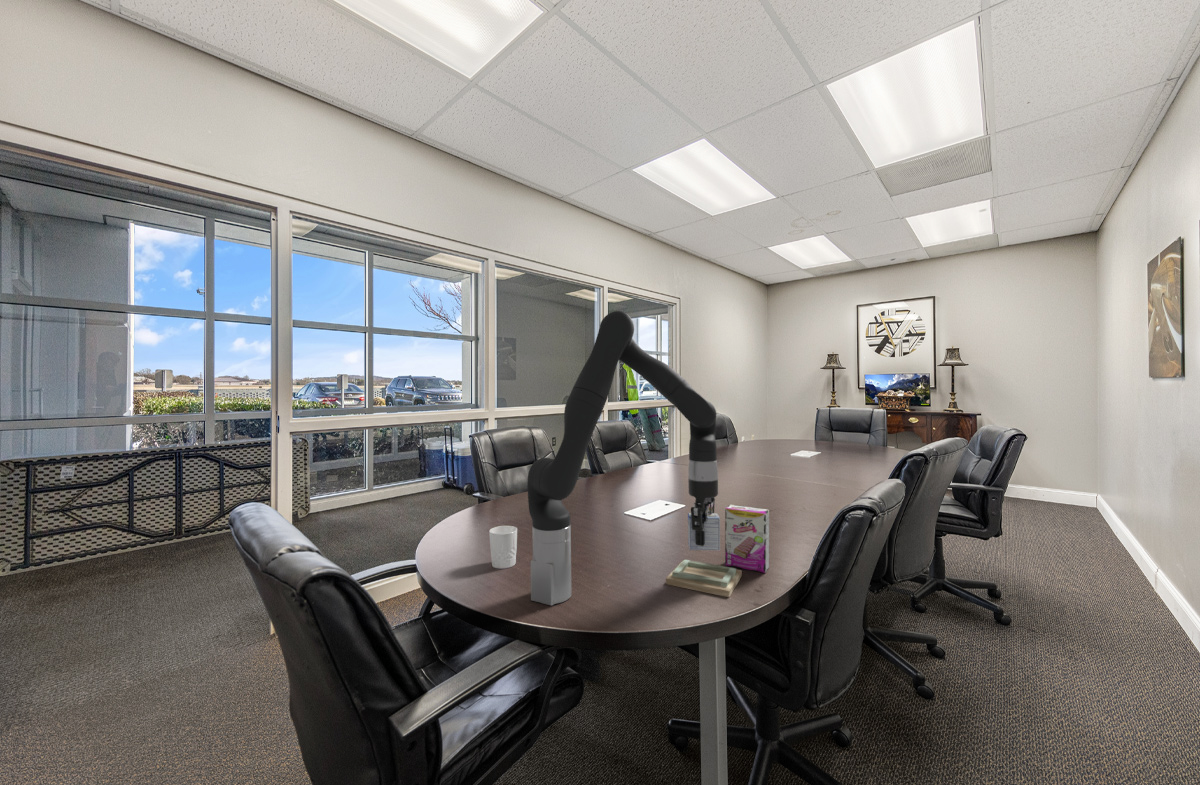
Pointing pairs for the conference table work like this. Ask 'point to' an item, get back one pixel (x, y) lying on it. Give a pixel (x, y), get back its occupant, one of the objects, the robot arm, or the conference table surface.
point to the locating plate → (705, 577)
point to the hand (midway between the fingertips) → (703, 541)
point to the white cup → (503, 546)
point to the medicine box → (706, 533)
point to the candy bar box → (747, 538)
